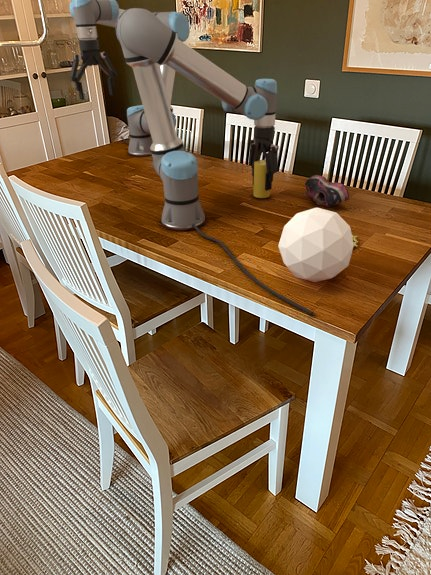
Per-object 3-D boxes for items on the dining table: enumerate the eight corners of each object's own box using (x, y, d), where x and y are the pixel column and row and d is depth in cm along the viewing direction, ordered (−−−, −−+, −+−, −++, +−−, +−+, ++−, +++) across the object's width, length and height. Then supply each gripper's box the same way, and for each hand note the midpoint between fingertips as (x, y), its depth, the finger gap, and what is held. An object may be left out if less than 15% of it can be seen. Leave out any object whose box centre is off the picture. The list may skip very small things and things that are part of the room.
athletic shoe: (314, 174, 176) (289, 181, 172) (350, 168, 156) (323, 177, 152) (319, 202, 179) (295, 210, 175) (356, 200, 159) (329, 209, 155)
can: (266, 191, 178) (268, 159, 171) (272, 197, 173) (274, 164, 166) (251, 193, 177) (252, 160, 170) (256, 198, 171) (257, 165, 164)
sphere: (322, 305, 122) (338, 279, 104) (262, 266, 127) (267, 235, 108) (357, 254, 127) (378, 220, 109) (298, 218, 132) (308, 180, 113)
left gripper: (61, 41, 165) (72, 102, 176) (120, 37, 178) (127, 94, 189) (53, 41, 170) (65, 100, 181) (112, 37, 183) (119, 92, 194)
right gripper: (291, 129, 156) (286, 191, 168) (254, 120, 169) (252, 178, 181) (275, 132, 152) (272, 196, 164) (239, 123, 165) (238, 182, 177)
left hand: (97, 97), depth 185 cm, fingers open, 13 cm apart
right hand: (261, 187), depth 173 cm, fingers closed on can, 6 cm apart
